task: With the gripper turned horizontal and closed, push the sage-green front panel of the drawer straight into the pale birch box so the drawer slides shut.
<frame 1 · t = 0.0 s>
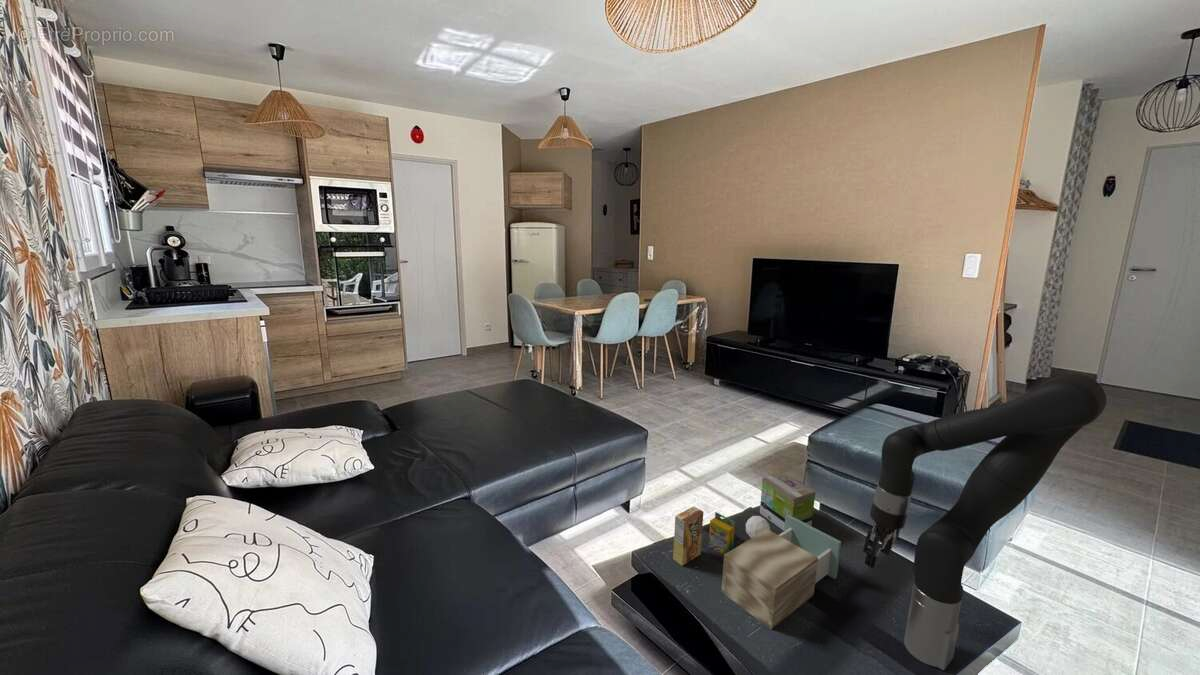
hand: (877, 559, 121), 17 cm above the table, tool pointing down, fingers open, 8 cm apart
birch box: (767, 593, 132), on the table
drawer: (792, 557, 138), point 6 cm above the table, slide at 10.0 cm
candy box: (687, 557, 147), on the table
tea box: (784, 522, 166), on the table
crayon box: (720, 551, 150), on the table
ball: (756, 538, 157), on the table
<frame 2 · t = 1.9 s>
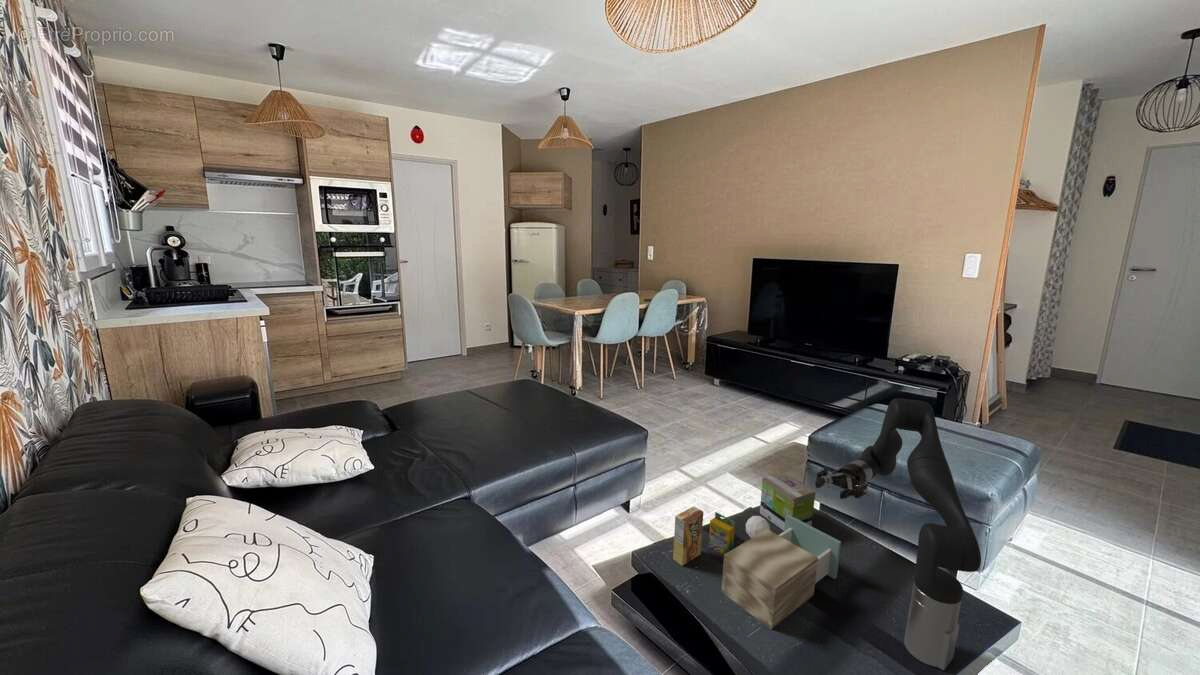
hand: (828, 490, 144), 22 cm above the table, tool horizontal, fingers open, 7 cm apart
nothing on the table moved.
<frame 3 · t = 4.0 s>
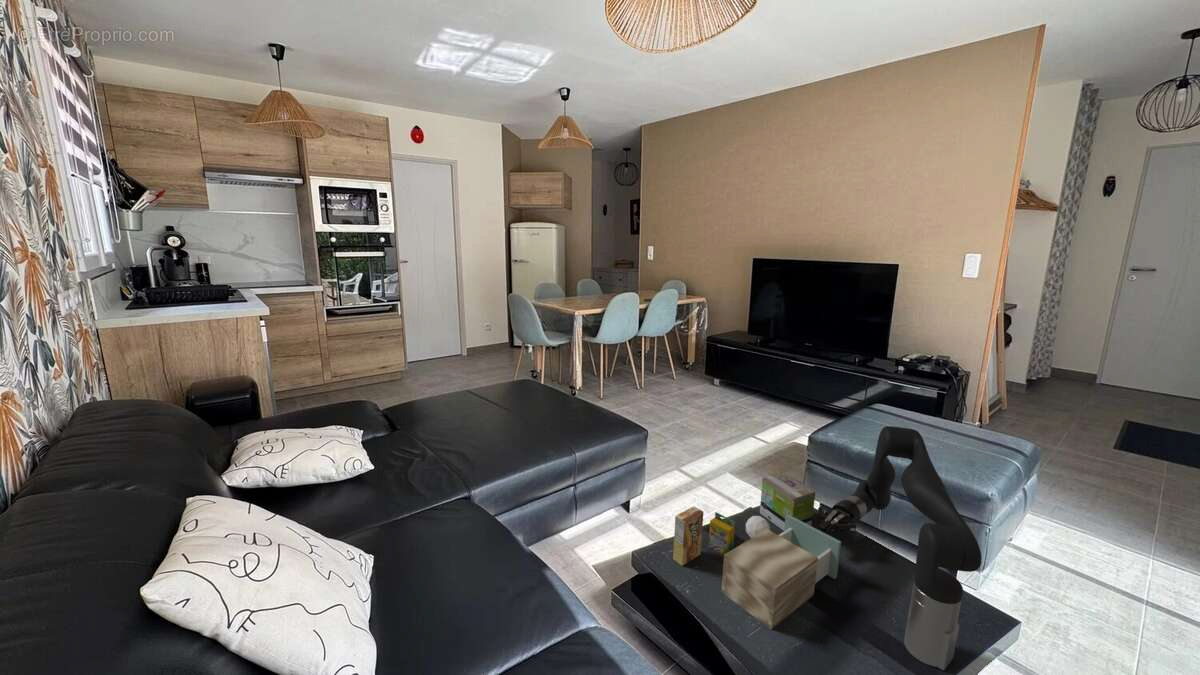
hand: (821, 529, 146), 9 cm above the table, tool horizontal, fingers closed
nothing on the table moved.
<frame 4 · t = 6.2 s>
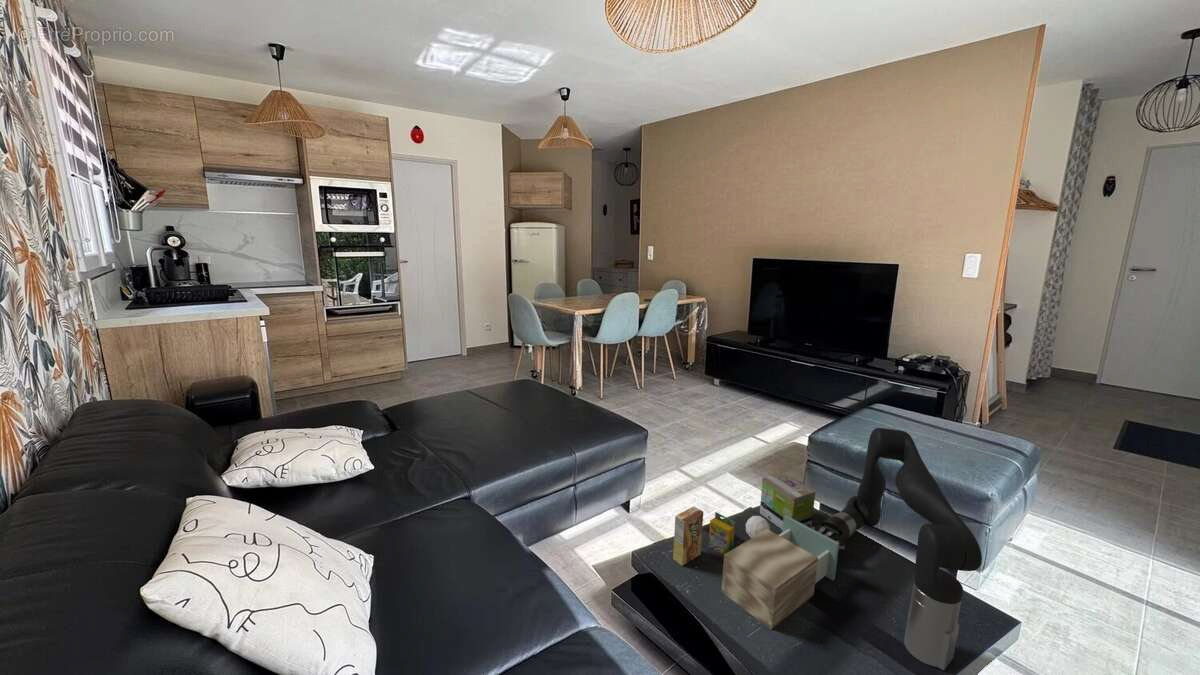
hand: (809, 547, 143), 6 cm above the table, tool horizontal, fingers closed
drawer: (790, 558, 137), point 7 cm above the table, slide at 8.9 cm, touching gripper
everything else where it was.
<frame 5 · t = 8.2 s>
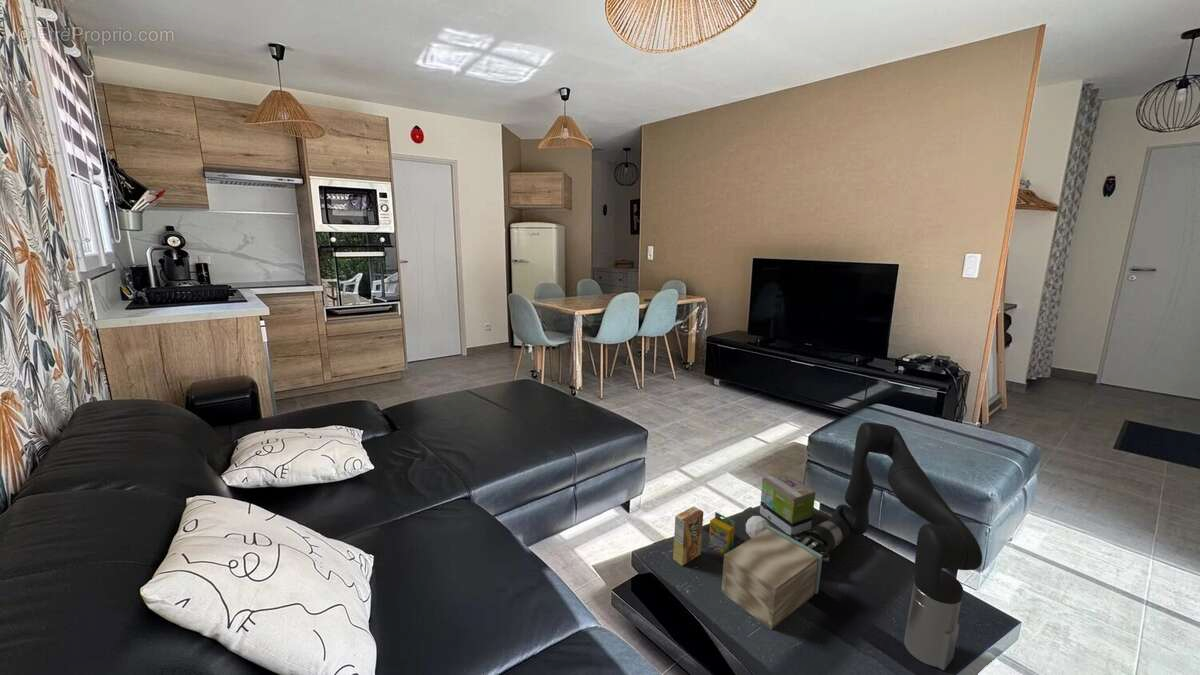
hand: (792, 559, 138), 6 cm above the table, tool horizontal, fingers closed
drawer: (772, 571, 132), point 7 cm above the table, slide at -0.1 cm, touching gripper
everything else where it was.
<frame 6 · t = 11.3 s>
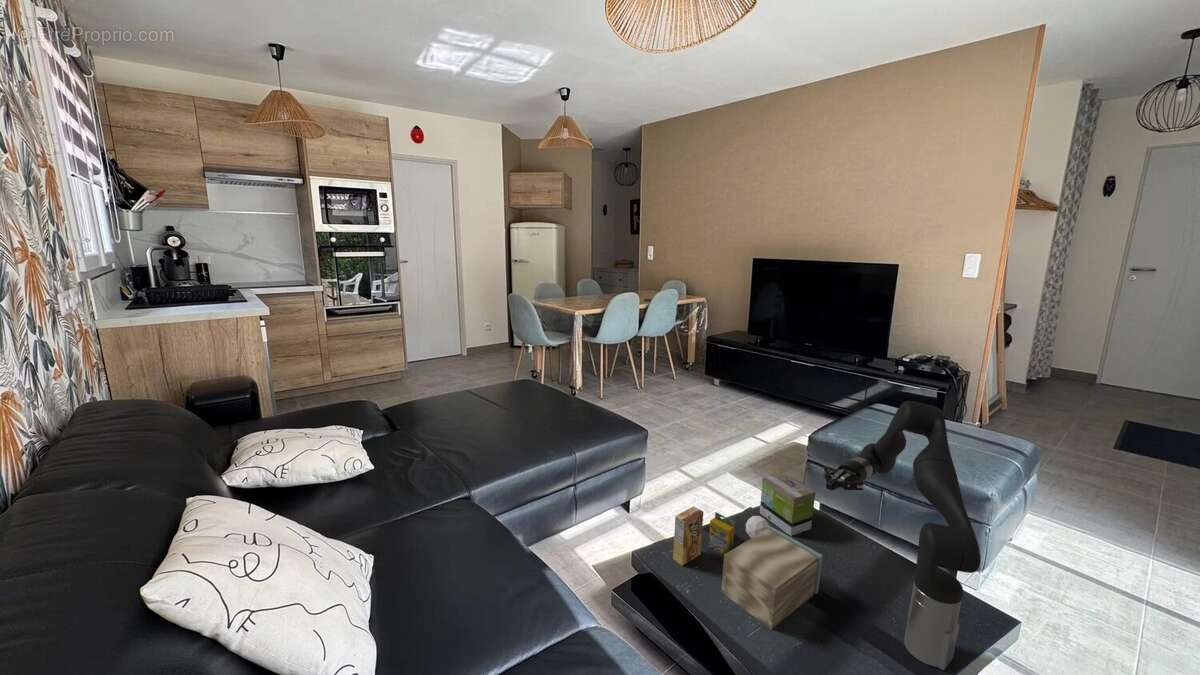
hand: (829, 486, 144), 23 cm above the table, tool horizontal, fingers closed
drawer: (772, 571, 132), point 7 cm above the table, slide at 0.0 cm
everything else where it was.
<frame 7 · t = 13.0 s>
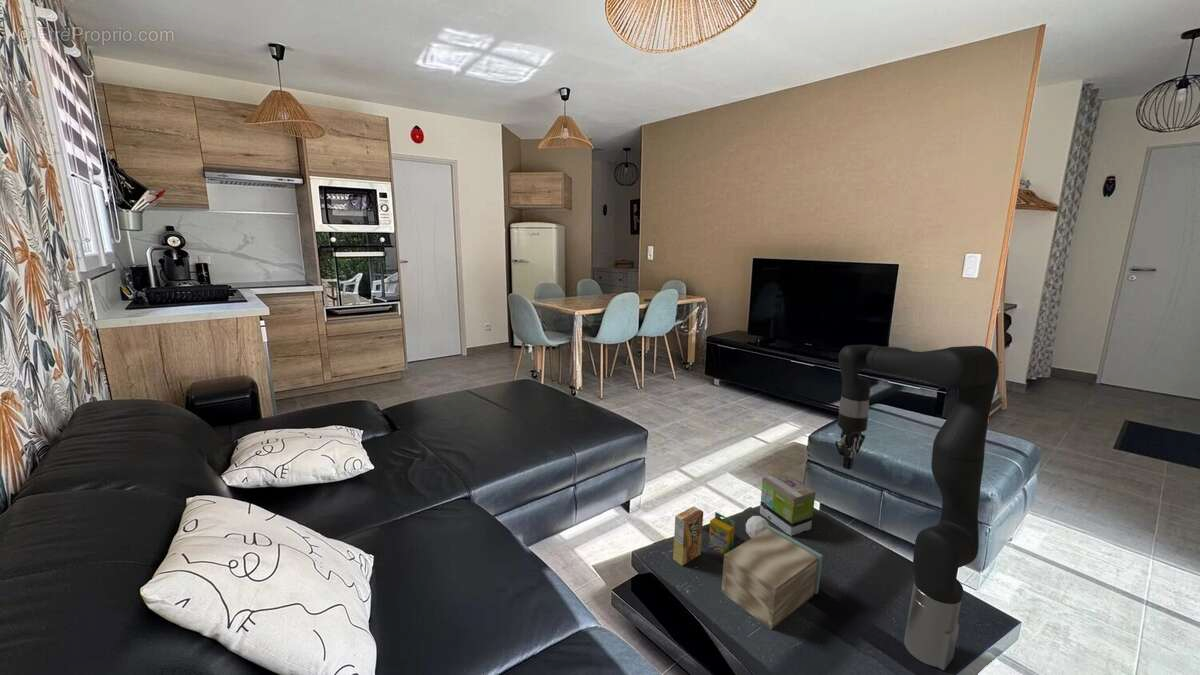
hand: (847, 467, 139), 31 cm above the table, tool pointing down, fingers closed
nothing on the table moved.
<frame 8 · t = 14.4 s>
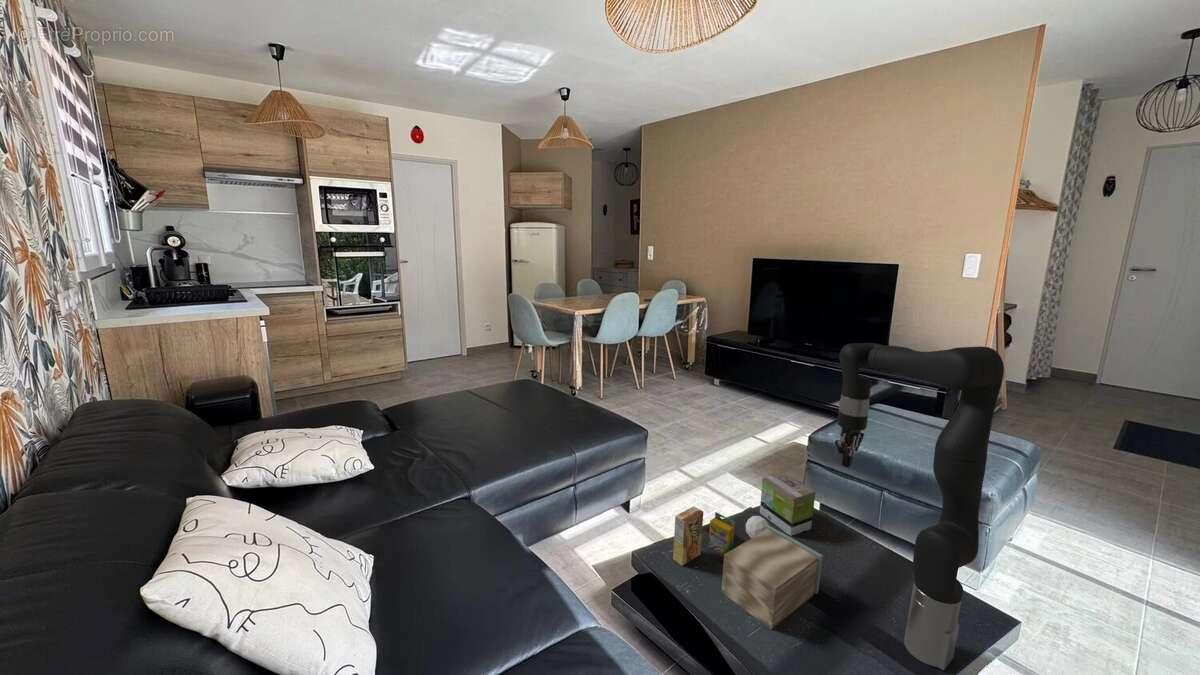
hand: (846, 466, 139), 32 cm above the table, tool pointing down, fingers closed
nothing on the table moved.
at the end: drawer slide at 0.0 cm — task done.
